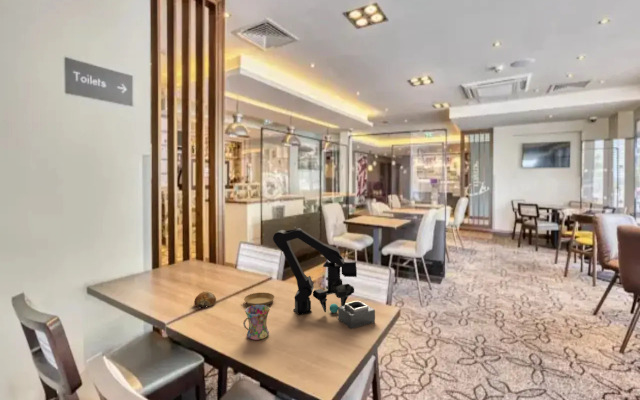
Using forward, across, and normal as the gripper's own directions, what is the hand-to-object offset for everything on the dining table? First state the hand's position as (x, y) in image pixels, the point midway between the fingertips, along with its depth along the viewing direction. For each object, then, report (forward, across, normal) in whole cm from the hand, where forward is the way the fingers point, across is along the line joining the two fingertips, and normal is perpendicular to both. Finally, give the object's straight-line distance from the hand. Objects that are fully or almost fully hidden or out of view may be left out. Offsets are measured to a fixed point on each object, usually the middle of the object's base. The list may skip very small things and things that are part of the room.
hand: (333, 309), depth 148 cm
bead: (+1, 0, 0) cm, 1 cm away
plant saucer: (+2, -26, +28) cm, 38 cm away
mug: (+2, -38, -5) cm, 38 cm away
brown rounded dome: (+2, -50, +38) cm, 63 cm away
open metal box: (+1, +4, -12) cm, 13 cm away
